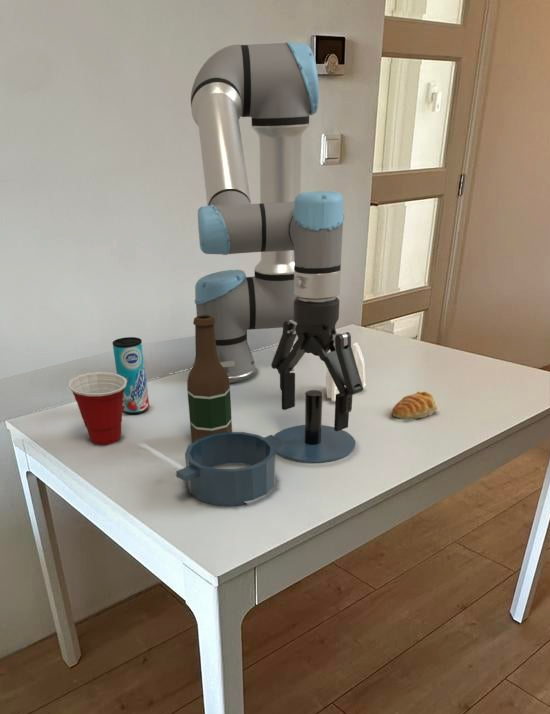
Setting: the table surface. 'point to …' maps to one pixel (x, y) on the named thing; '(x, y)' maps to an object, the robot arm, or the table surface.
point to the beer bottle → (208, 385)
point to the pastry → (415, 406)
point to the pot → (230, 483)
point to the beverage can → (132, 374)
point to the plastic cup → (100, 404)
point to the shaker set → (360, 364)
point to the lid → (314, 437)
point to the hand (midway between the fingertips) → (313, 418)
